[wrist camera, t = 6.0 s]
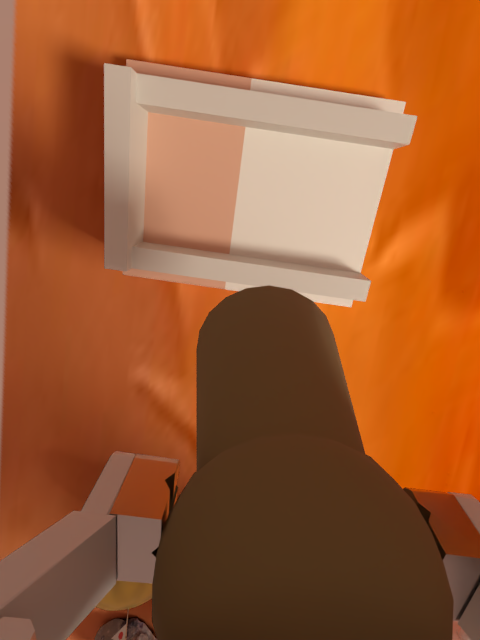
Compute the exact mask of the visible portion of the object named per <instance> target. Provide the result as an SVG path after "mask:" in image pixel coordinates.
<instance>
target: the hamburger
mask: <svg viewBox="0 0 480 640" xmlns="http://www.w3.org/2000/svg"><path fill="white" fill-rule="evenodd" d="M150 599H152V584H151V583H140V582H128V581H116V584H115V585H114V587H113V588H112V589H111V590H110V591H109V592H108V593H107V594H106V595H105V597H104V598H103V599H102V600H101V601H100V602H99V603H98V604H97V605H96V607H97V608H100V609H103V610H109V611H117V610H126V609H128V610H129V609H130V608H134V607H137V606H139V605H142V604H143V603H145V602H147V601H149V600H150ZM127 623H128V613H127V622H126V624H125V625H124V626H123V627H122V628H121V629H120V630H119V631H118V632H117V633H116V634H115V635H114V636H113V637H112V638H111V639H113V640H126V637H127Z"/></svg>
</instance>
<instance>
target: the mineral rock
mask: <svg viewBox="0 0 480 640" xmlns="http://www.w3.org/2000/svg"><path fill="white" fill-rule="evenodd" d="M126 622H127V621H124V620H122V619H113V620H111V621H109V622H108V623H106V624H105V625H103V626H102V627H100V629H99V630H98V632H97V634H96V636H95V640H113V639H111V638H112V637H113V636H114V635H115V634H116V633H117V632H118V631H119V630H120V629H121V628H122V627H123V626H124V625H125V624H126ZM126 640H157V638H155V636H154V635H153V634H152V632H151V631H150V630H149V629H148V627H147V626H146V624H145V623H143V622H140V621H139V620H138V618H136V619H135V618H131V619H128V623H127V637H126Z"/></svg>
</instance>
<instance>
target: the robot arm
mask: <svg viewBox="0 0 480 640" xmlns="http://www.w3.org/2000/svg"><path fill="white" fill-rule="evenodd" d="M179 468H180V461H179V460H177V459H170V458H164V457H157V456H150V455H143V454H133V453H127V452H120V451H115V452H114V453H113V454H112V455H111V456H110V458H109V460H108V462H107V464H106V465H105V467H104V469H103V471H102V473H101V475H100V477H99V478H98V480H97V482H96V484H95V486H94V488H93V489H92V491H91V493H90V495H89V497H88V499H87V501H86V502H85V504H84V506H83V508H82V510H81V511H72V512H71V513H69V514H68V515H66V516H65V517H63V518H62V519H61V520H59V521H58V522H56V523H55V524H53V525H52V526H50V527H49V528H47V529H46V530H45V531H43V532H42V533H40V534H39V535H37V536H36V537H34V538H33V539H31V540H30V541H29V542H27V543H26V544H24V545H23V546H21V547H20V548H18V549H17V550H15V551H14V552H13V553H11V554H10V555H8V556H7V557H5V558H4V559H2V560H1V561H0V640H66V639H67V638H68V637H69V635H70V634H71V633H72V632H73V631H74V630H75V629H76V628H77V627H78V625H79V624H80V623H81V622H82V621H83V620H84V619H85V618H86V617H87V615H88V614H89V613H90V612H91V611H92V610H93V609H94V608H95V607H96V605H97V604H98V603H99V602H100V601H101V600H102V599H103V598H104V597H105V595H106V594H107V593H108V592H109V591H110V590H111V589H112V588H113V587H114V585H115V584H116V581H128V582H140V583H151V584H152V583H153V576H154V569H155V561H156V554H157V550H158V547H159V543H160V539H161V535H162V531H163V527H164V523H165V521H166V520H167V518H168V516H169V514H170V512H171V510H172V508H173V506H174V505H175V503H176V501H177V494H178V487H177V485H176V484H177V480H178V476H179ZM403 490H404V491H405V492H406V493H407V494H408V495H409V496H410V498H411V499H412V500H413V501H414V502H415V504H416V505H417V507H418V509H419V511H420V513H421V514H422V516H423V518H424V520H425V521H426V523H427V525H428V527H429V529H430V530H431V532H432V535H433V537H434V540H435V542H436V545H437V547H438V550H439V553H440V555H441V558H442V560H443V563H444V566H445V570H446V574H447V577H448V581H449V585H450V588H451V592H452V595H453V599H454V604H453V634H452V640H480V503H479V501H478V500H477V499H476V498H474V497H473V496H472V495H470V494H460V493H451V492H448V493H446V492H441V491H432V490H423V489H415V488H406V487H405V488H404V489H403Z"/></svg>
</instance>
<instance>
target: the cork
mask: <svg viewBox="0 0 480 640" xmlns="http://www.w3.org/2000/svg"><path fill="white" fill-rule="evenodd" d="M453 604H454V599H453V595H452V592H451V588H450V585H449V581H448V577H447V574H446V570H445V566H444V563H443V560H442V558H441V555H440V553H439V550H438V547H437V545H436V542H435V540H434V537H433V535H432V532H431V530H430V529H429V527H428V525H427V523H426V521H425V520H424V518H423V516H422V514H421V513H420V511H419V509H418V507H417V505H416V504H415V502H414V501H413V500H412V499H411V498H410V496H409V495H408V494H407V493H406V492H405V491H404V490H403V489H402V488H401V487H400V486H399V485H398V483H397V482H396V481H395V480H394V479H393V478H392V477H391V476H390V475H389V474H388V473H387V472H386V471H385V470H384V469H383V468H382V467H381V466H379V465H378V464H377V463H376V462H375V461H374V460H373V459H372V458H371V457H370V456H368V455H366V454H365V451H364V448H363V444H362V440H361V436H360V432H359V429H358V425H357V421H356V417H355V414H354V410H353V406H352V402H351V398H350V395H349V391H348V387H347V383H346V380H345V376H344V372H343V368H342V364H341V361H340V357H339V353H338V349H337V346H336V342H335V338H334V334H333V332H332V329H331V327H330V325H329V322H328V320H327V317H326V315H325V314H324V313H323V312H322V311H321V310H320V309H319V308H318V307H317V306H316V304H315V303H314V302H313V301H312V300H310V299H309V298H307V297H305V296H303V295H301V294H299V293H298V292H296V291H294V290H292V289H287V288H281V287H276V286H270V285H268V286H260V287H252V288H246V289H243V290H241V291H239V292H237V293H235V294H233V295H230V296H228V297H226V298H225V299H224V300H222V301H221V302H220V303H219V304H218V305H217V306H216V307H215V308H214V309H213V310H212V311H211V312H209V314H208V316H207V318H206V320H205V322H204V323H203V325H202V327H201V329H200V331H199V338H198V344H197V472H195V473H194V474H193V476H192V477H191V479H190V480H189V482H188V483H187V485H186V486H185V488H184V490H183V491H182V493H181V494H180V496H179V497H178V499H177V501H176V503H175V505H174V506H173V508H172V510H171V512H170V514H169V516H168V518H167V520H166V521H165V523H164V527H163V531H162V535H161V539H160V543H159V547H158V550H157V554H156V561H155V569H154V576H153V583H152V622H153V626H154V629H155V633H156V636H157V640H452V634H453Z"/></svg>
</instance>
